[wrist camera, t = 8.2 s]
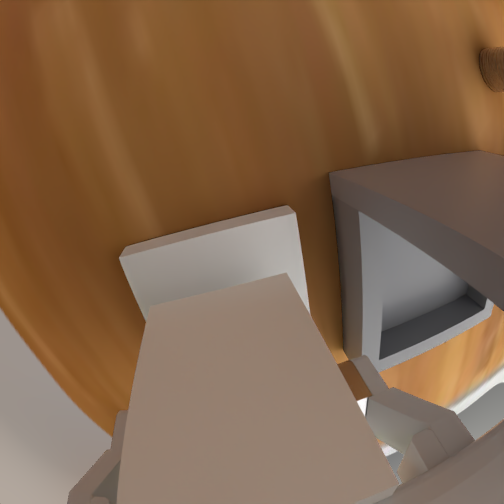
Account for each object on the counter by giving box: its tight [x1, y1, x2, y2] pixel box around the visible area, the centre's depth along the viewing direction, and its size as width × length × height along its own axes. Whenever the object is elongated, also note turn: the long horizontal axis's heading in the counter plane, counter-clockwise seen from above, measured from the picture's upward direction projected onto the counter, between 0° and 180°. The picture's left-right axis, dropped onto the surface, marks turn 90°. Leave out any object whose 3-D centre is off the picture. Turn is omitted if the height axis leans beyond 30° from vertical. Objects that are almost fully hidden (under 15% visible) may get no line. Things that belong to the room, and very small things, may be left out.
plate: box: [119, 205, 310, 321], centre depth 13 cm, size 8×7×1 cm
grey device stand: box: [329, 150, 504, 372], centre depth 9 cm, size 10×10×12 cm
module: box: [116, 272, 399, 504], centre depth 8 cm, size 5×5×8 cm
